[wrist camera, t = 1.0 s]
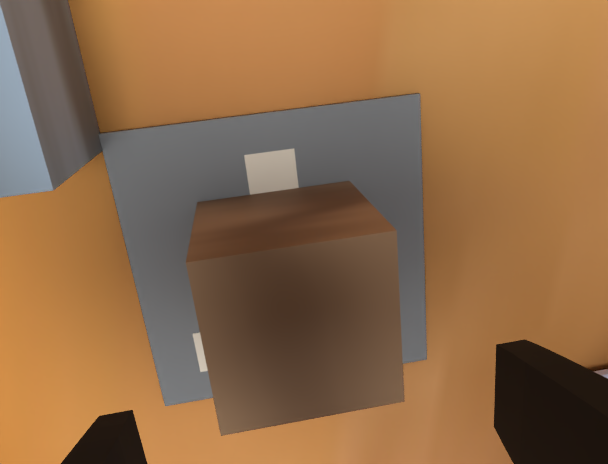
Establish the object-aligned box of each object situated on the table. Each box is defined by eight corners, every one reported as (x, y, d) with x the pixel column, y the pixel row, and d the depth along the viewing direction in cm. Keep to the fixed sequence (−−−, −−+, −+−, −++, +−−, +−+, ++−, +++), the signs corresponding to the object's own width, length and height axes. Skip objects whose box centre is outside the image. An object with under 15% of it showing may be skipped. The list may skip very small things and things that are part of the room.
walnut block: (349, 180, 17) (396, 230, 12) (359, 313, 19) (404, 401, 14) (197, 202, 16) (185, 262, 12) (222, 336, 18) (221, 435, 13)
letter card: (417, 93, 16) (420, 93, 16) (425, 356, 20) (427, 359, 20) (99, 133, 15) (98, 134, 15) (165, 402, 19) (165, 406, 19)
